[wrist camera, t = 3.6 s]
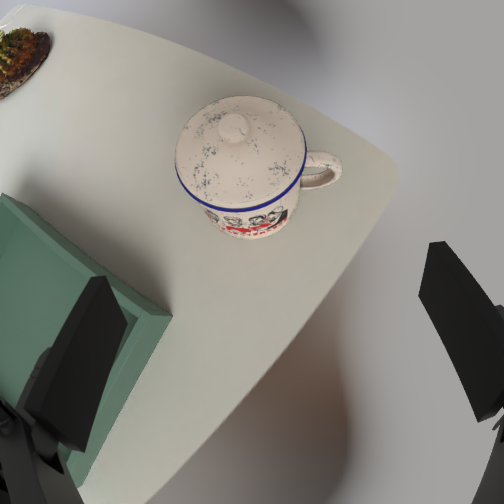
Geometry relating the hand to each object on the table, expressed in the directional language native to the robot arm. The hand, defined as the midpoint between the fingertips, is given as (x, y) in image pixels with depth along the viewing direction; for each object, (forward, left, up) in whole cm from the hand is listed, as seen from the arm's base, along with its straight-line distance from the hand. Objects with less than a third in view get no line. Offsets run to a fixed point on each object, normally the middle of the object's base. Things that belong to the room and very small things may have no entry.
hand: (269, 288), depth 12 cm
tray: (+19, +17, -15) cm, 30 cm away
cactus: (+59, -12, -15) cm, 62 cm away
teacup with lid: (+6, -8, -15) cm, 18 cm away
